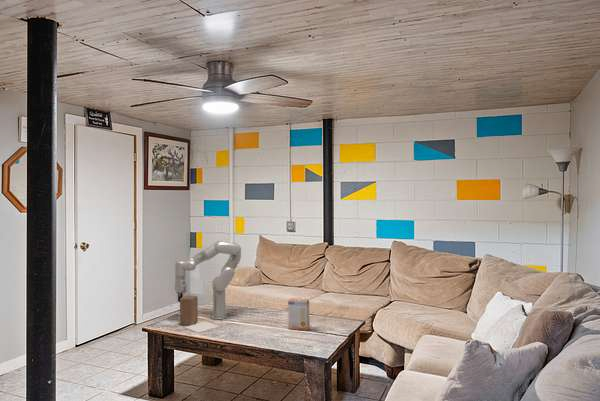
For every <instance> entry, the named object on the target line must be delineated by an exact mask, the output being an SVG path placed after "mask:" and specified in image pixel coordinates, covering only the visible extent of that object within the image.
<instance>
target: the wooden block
mask: <svg viewBox="0 0 600 401" xmlns="http://www.w3.org/2000/svg"><path fill="white" fill-rule="evenodd" d="M198 304H199V303H198V296H197V295H183V297H182V298H180V302H179V315H180V316H179V322H180V323H179V324H180V325H181V326H191V325H194V324H198V322H199V321H198V320H199V318H198V314H199V312H198Z"/></svg>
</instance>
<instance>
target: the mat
mask: <svg viewBox="0 0 600 401" xmlns="http://www.w3.org/2000/svg"><path fill="white" fill-rule="evenodd" d="M220 327H221V326H219V325H217V324H213V323H211V322H208V321H204V322H199V323H198V322H197V323H195V324H194V325H191V326H190V325H186V326H184V329H186V330H189V331H190V332H191V331H192V332H195V333H197V334H201V333H203V332H208V331H211V330H214V329H215V330H216V329H218V328H220Z"/></svg>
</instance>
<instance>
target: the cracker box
mask: <svg viewBox="0 0 600 401" xmlns="http://www.w3.org/2000/svg"><path fill="white" fill-rule="evenodd" d="M287 306H288V307H287V309H288V310H287V312H288V314H287V315H288V330H292V331H293V330H295V331H296V330H297V331H305V332H307V331H309V330H310V329H311V328H310V325H311V324H310V323H311V322H310V299H307V298H305V299H304V298H289V299H288V300H287Z"/></svg>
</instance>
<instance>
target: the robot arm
mask: <svg viewBox="0 0 600 401" xmlns="http://www.w3.org/2000/svg"><path fill="white" fill-rule="evenodd" d="M219 254H224V255H229V257H228V259H227V261H226V262H225V264H224V265H223V267H222V268H221V270H220V274H219V276H218V275H217V276H215V277H214V278H213V280H212V284H211V285H212V286H211V287H212V315H211V319H212V320H224V319H227V318H228V314H230V313H231V309H229V310H226V307H227V306H226V288H227V287H228V285H229V284H230V282H231V281H232V280H233V278H234V277H235V270H236V268H237V267H238V265H239V264H240V261H241V259H242V247H241V245H240V244H238V243H236V242H231V243H230V242H225V241H222V240H218V241H216V242H214V243H212V244H210V245H209V246H208V247H206V248H205V249H203V250H201V251H200V252H198V253H197V254H195V255H193V256H191V257H190V258H189V259H187V260H177V261H175V265H174V266H175V267H174V268H175V270H174V271H175V276H174V277H175V280H174V291H175V293H176V294H177V302H179V303H180V298H182V297H184V295H185V294H186V293H187V291H188V288H187V279H186V271H189V272H190V271H194V270H195V269H196V268H197V266H198V265H200V264H201V263H203V262H206V261H209V260H211V259H212V258H214V257H215V256H217V255H219Z"/></svg>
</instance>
